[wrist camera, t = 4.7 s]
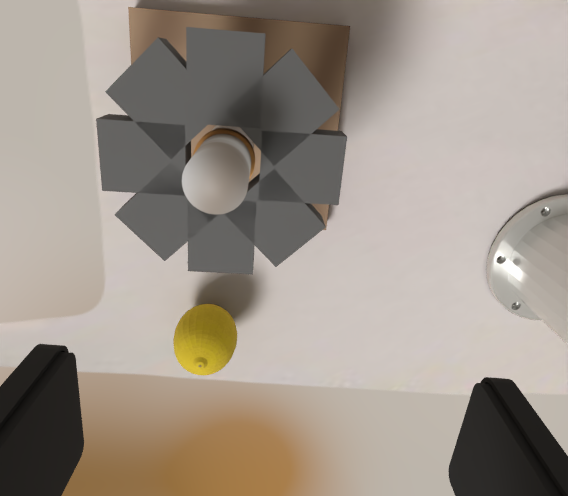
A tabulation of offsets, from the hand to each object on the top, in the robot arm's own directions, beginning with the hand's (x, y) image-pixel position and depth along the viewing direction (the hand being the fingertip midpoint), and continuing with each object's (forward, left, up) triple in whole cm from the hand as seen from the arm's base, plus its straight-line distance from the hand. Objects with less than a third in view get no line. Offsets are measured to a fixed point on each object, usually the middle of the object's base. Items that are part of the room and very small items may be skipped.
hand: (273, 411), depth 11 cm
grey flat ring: (+3, -2, -18) cm, 18 cm away
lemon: (+5, +16, -30) cm, 34 cm away
